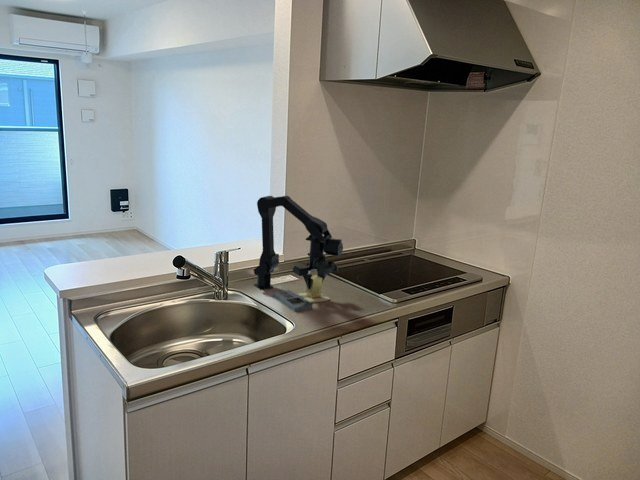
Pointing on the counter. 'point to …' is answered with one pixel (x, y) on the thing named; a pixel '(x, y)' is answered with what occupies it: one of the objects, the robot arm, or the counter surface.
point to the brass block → (315, 287)
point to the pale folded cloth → (313, 300)
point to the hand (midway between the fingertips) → (313, 288)
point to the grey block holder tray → (292, 300)
